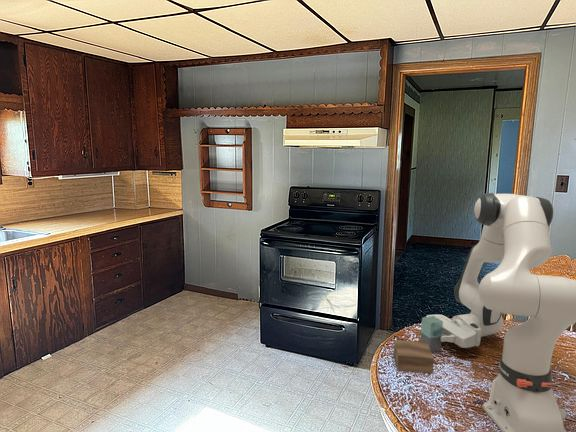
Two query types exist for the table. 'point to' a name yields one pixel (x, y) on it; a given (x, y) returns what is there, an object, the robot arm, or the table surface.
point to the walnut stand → (413, 356)
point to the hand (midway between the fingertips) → (431, 332)
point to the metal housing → (431, 332)
